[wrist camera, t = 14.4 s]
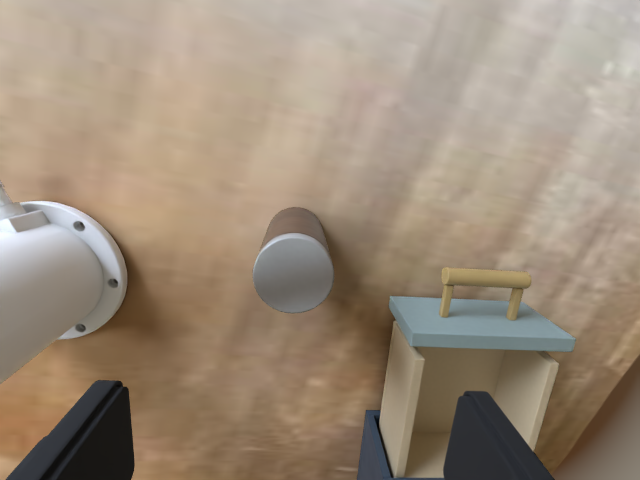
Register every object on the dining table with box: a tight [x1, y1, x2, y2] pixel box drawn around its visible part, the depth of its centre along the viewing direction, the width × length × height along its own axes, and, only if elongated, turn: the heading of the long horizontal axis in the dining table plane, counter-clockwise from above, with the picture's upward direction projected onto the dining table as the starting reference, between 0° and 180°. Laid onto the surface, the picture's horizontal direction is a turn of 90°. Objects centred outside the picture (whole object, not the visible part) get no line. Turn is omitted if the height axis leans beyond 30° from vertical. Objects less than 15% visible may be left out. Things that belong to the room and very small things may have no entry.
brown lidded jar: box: [253, 207, 334, 313], centre depth 26 cm, size 5×5×10 cm
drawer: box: [378, 268, 576, 478], centre depth 31 cm, size 20×13×7 cm
